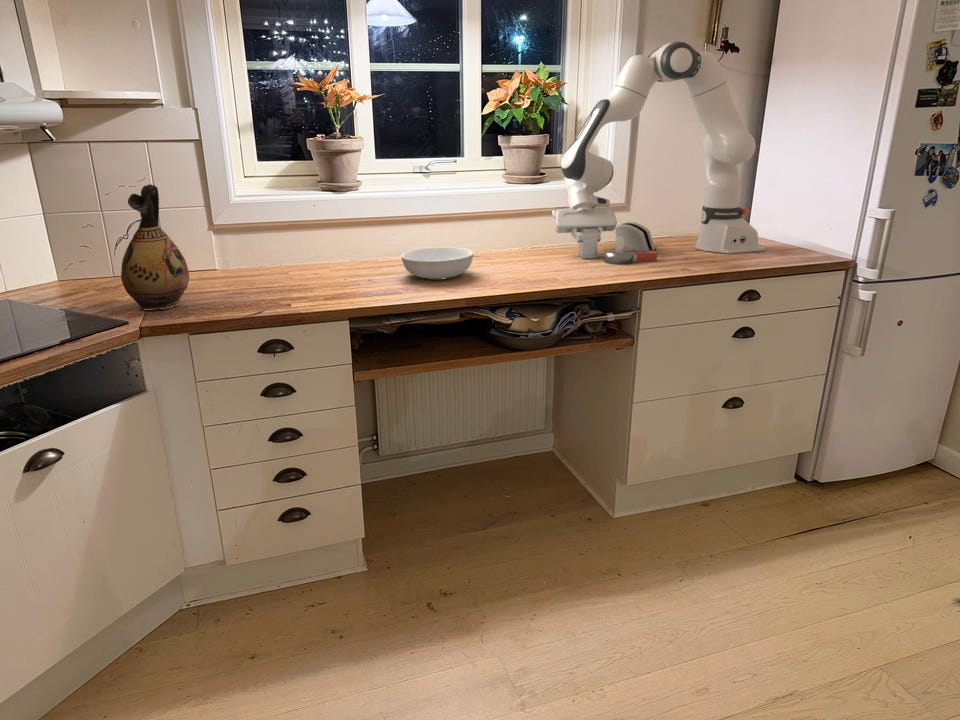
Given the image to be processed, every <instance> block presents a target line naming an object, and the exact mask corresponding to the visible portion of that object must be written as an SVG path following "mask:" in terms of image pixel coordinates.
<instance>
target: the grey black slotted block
mask: <svg viewBox="0 0 960 720" xmlns="http://www.w3.org/2000/svg"><path fill="white" fill-rule="evenodd" d="M614 230H615V235H616V236H615V237H622V238H624V240H623V247H625V248H628V249H633V250H636V251H655V252H658V251H659V250H658V246H657V245H655V244H654V241H653V238H652V235H651V231H650V230H649V229H648V228H647V227H646V226H644V225H642V224H640V223H638V222H634V221H626V222H623V223H621V224H618V225H616V228H615V229H614Z"/></svg>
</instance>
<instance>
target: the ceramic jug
mask: <svg viewBox="0 0 960 720" xmlns="http://www.w3.org/2000/svg"><path fill="white" fill-rule="evenodd" d="M159 196H160V195H159V189H158V187H157V186H156V185H154V184H152V183H151V184H147V185H144V186H143V187H142V188H141V190H140V194H137V193H132V194H130V196H128V199H127V204H128V206H129V207H130V208H131V209H133V210H135V211H137V212H139V214H140V219H141V220H140V221H139V225H138V228H137V230H136V231H135V232H134V234H133V236H132V238H131V239H130V241H129V243H128V246H127V248H126V250H125V252H124V255H123V257H122V261H121V272H120V275H121V277H120V279H121V282H122V286H123V287H124V290H125V292H126V293H127V294H128V295H129V297H131V298H132V299H133V300H134V301H135V302H136V303H137V305H138V306H139V307H140V308H142V309H160V308H167V307H171V306H174V305H176V304H178V305H179V302H180V300H181V298H182V296H183V295H184V293H185V291H186V290H187V289H188V286H189V282H190V281H189V280H190V273H189V267H188V264H187V262H186V259H185V257H184V255H183V252H182V251H180V249H179V248H178V245H176V244H175V243H174V241H173V240H172V239H171V237H169V235H168V234H167V233H166V232H165V231H164V230H163V229H162V228H161V227H160V224H159V222H160V221H159V220H160V219H159V218H160V217H159V214H160V213H159V212H160V197H159ZM139 307H138V308H139Z"/></svg>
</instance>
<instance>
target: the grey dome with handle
mask: <svg viewBox="0 0 960 720" xmlns="http://www.w3.org/2000/svg"><path fill="white" fill-rule="evenodd" d="M615 237H616V236H615ZM623 240H624V238H622V237H616V238H615V249H607V250H605V251H604V259H603V261H604V263H606V264H610V265H630V264H633V263H636V262H637V263H641V262H643V263H644V262H657V261H658V254H659V253H658V251H655V250H649V251H639V250H637V251H633V250H630V249H629V250H628V249H624V246H623Z"/></svg>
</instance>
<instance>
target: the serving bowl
mask: <svg viewBox="0 0 960 720" xmlns="http://www.w3.org/2000/svg"><path fill="white" fill-rule="evenodd" d="M473 257H474V252H473V251H472V250H470V249H469V248H464V247H463V248H462V247H457V246H456V247H453V246H435V247H433V246H432V247H423V248H416V249H412V250H409V251H406V252H404V253H402V254H401V262H402V264H403V266H404V268H405V270H406V271H407V272H409V273H410V274H411V275H413V276H416V277H417V278H422V279H425V278H428V279H427V280H431V279H442V278H448V279H450V278H449V277H451V278H453V277H456V276H459V275H462V274H463V273H465V272H466V271H468V269H469V268H470V267H471V264H472V263H473ZM442 280H443V279H442Z"/></svg>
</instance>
